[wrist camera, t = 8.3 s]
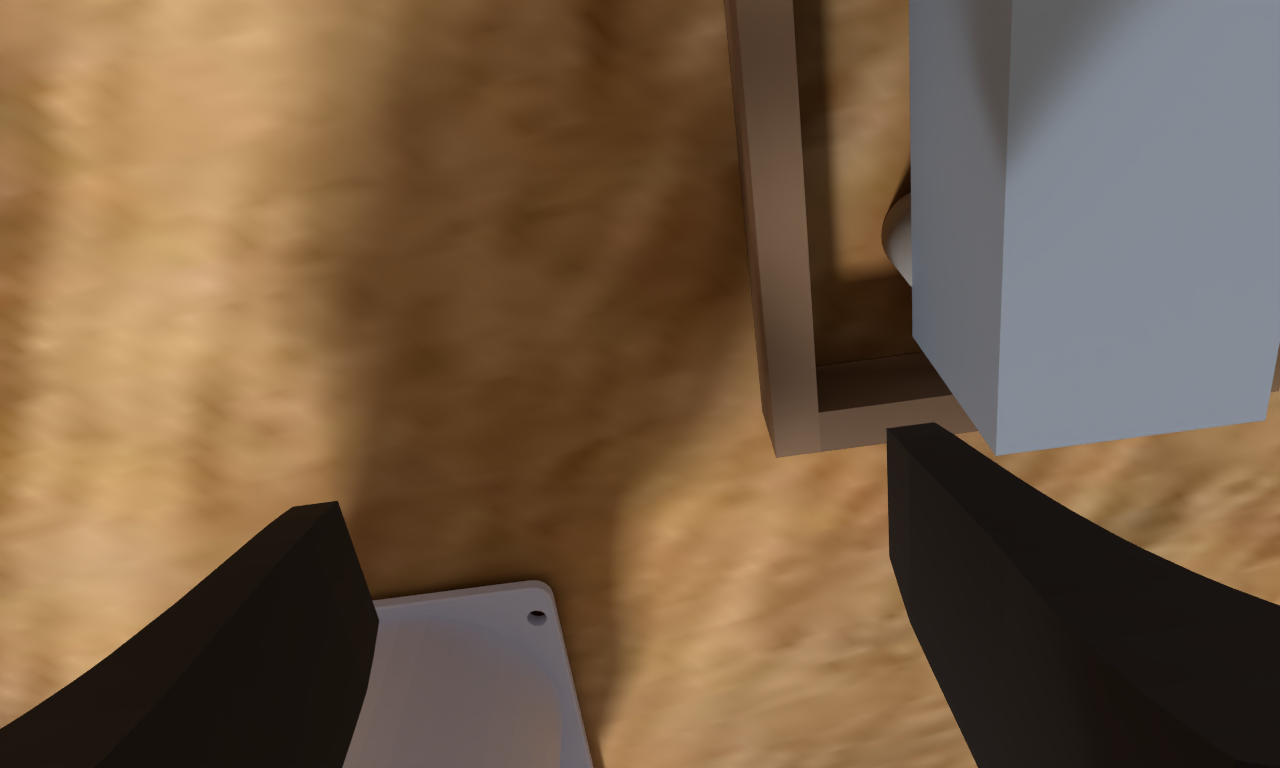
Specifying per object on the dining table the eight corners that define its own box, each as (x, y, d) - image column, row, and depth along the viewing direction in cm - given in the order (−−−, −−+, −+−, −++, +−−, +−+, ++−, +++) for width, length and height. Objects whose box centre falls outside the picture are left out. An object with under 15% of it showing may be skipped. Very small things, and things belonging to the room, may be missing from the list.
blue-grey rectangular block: (1121, 307, 20) (1265, 420, 16) (912, 336, 20) (995, 455, 16) (1190, -391, 15) (1439, -521, 10) (905, -343, 15) (1028, -450, 11)
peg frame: (1220, 348, 22) (1278, 390, 20) (762, 410, 23) (776, 457, 21) (1357, -538, 15) (1467, -606, 13) (684, -422, 16) (694, -470, 14)
